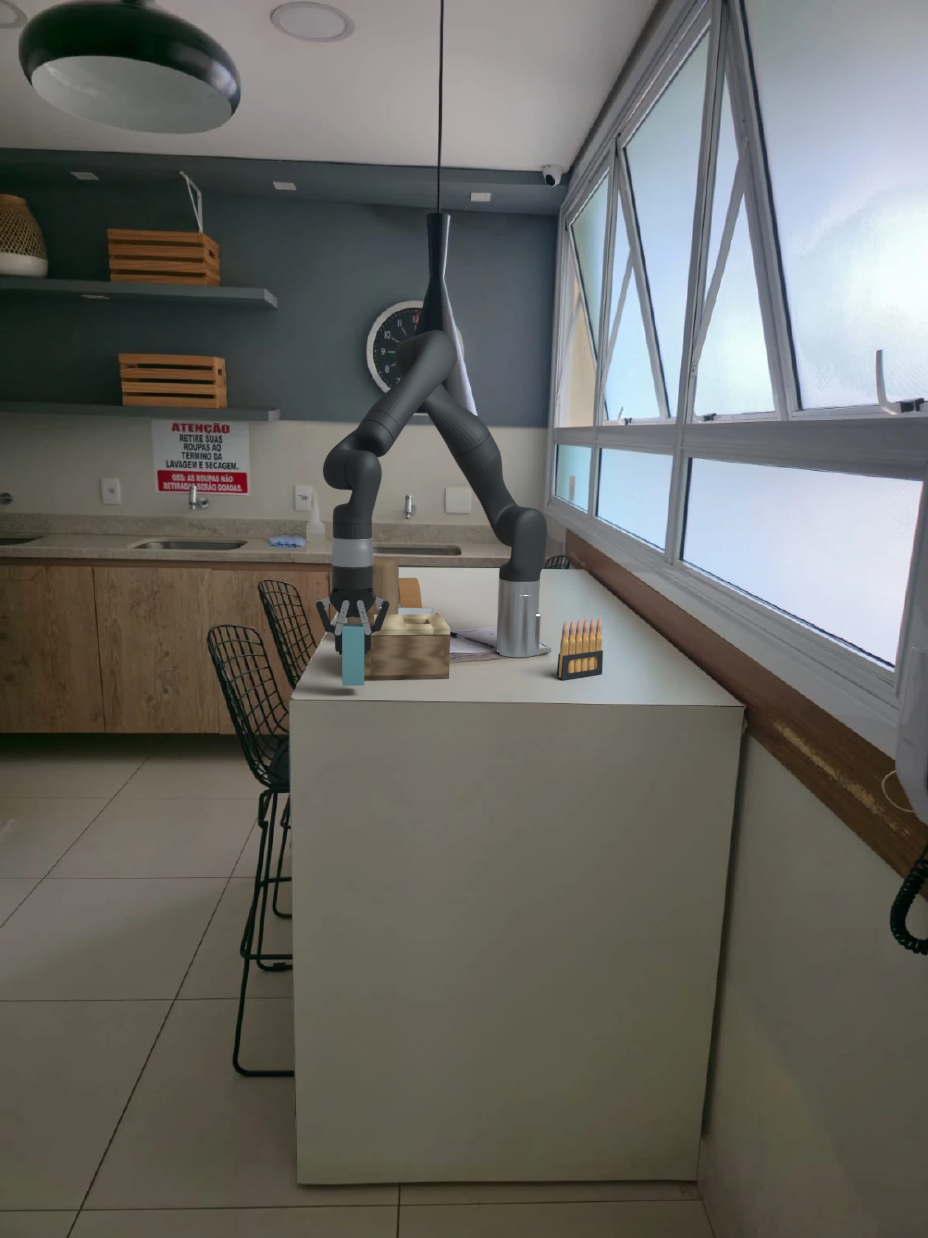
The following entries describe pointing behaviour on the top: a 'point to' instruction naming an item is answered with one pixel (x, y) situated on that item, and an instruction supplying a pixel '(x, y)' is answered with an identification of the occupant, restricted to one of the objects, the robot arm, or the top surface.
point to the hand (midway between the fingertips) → (352, 653)
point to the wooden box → (407, 657)
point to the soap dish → (416, 611)
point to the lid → (410, 624)
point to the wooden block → (384, 584)
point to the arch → (409, 593)
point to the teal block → (352, 654)
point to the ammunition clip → (580, 651)
